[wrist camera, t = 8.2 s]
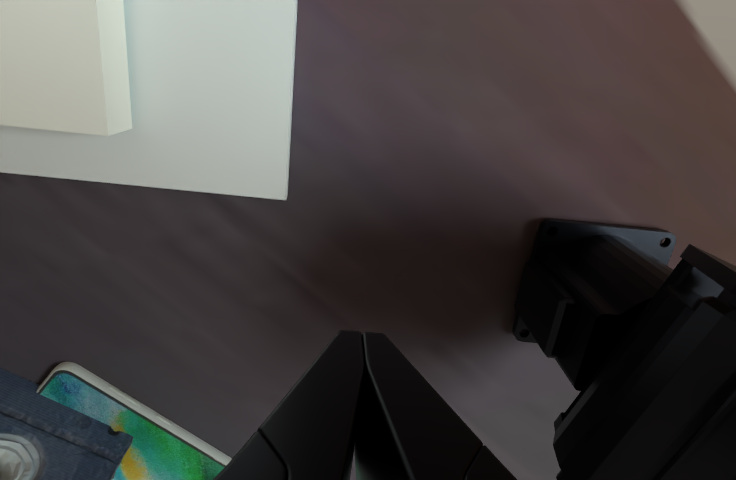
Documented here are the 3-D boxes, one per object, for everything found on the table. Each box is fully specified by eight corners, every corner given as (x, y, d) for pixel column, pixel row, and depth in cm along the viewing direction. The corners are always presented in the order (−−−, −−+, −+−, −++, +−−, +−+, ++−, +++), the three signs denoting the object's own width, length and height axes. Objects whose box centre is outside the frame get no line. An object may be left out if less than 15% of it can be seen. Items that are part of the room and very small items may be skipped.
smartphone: (218, 563, 29) (-8, 443, 25) (222, 549, 30) (3, 431, 26) (291, 502, 27) (58, 361, 23) (293, 489, 28) (68, 351, 24)
